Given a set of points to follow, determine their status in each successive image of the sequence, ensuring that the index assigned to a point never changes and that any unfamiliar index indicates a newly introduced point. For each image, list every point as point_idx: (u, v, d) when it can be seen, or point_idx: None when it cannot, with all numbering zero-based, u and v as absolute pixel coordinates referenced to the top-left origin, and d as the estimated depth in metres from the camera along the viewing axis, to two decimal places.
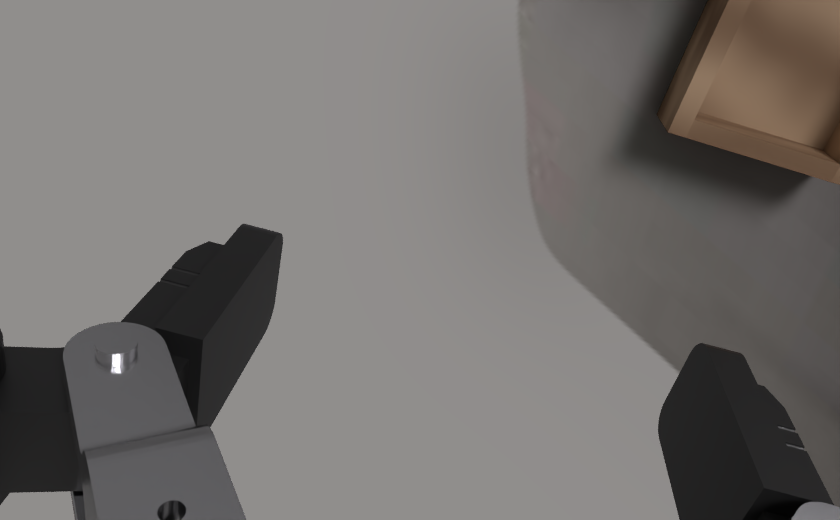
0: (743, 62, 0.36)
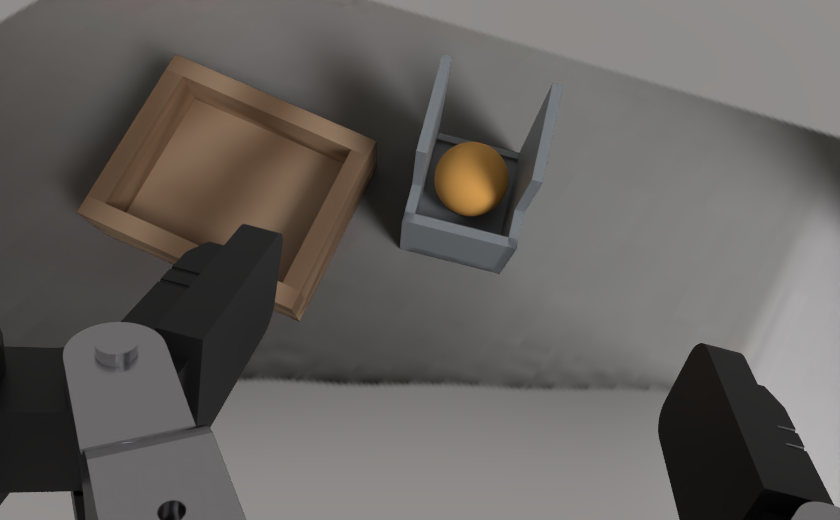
0: (227, 147, 0.38)
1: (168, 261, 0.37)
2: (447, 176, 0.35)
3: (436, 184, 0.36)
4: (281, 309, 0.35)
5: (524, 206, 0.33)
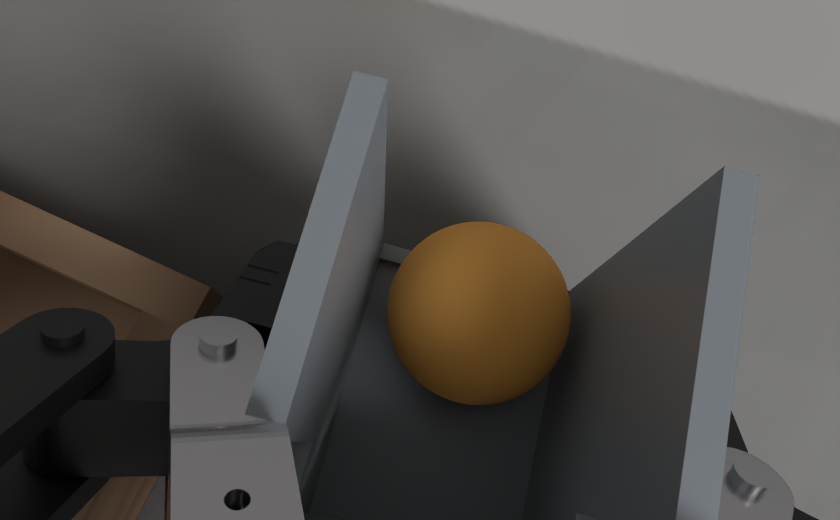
0: None
1: None
2: (435, 262, 0.14)
3: (400, 300, 0.14)
4: None
5: None
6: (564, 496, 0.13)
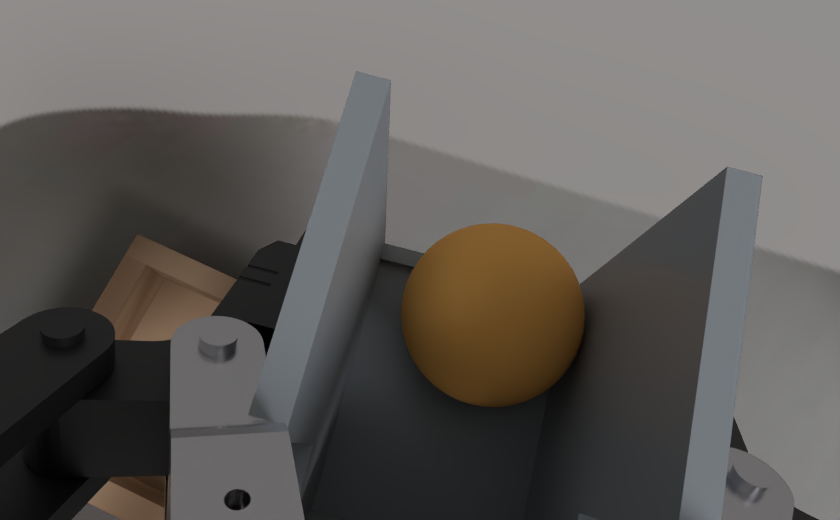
0: None
1: None
2: (463, 265, 0.13)
3: (422, 301, 0.14)
4: None
5: None
6: (566, 497, 0.13)
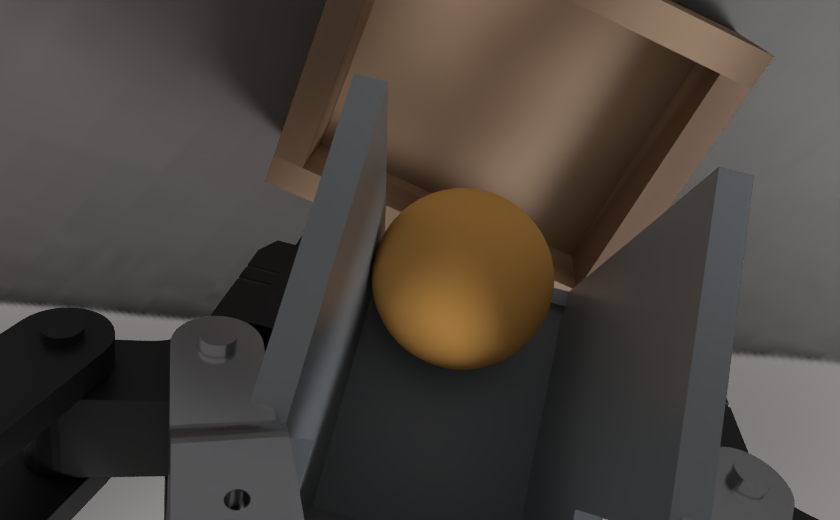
0: (474, 16, 0.22)
1: None
2: (404, 214, 0.14)
3: (376, 259, 0.14)
4: None
5: None
6: (563, 494, 0.13)
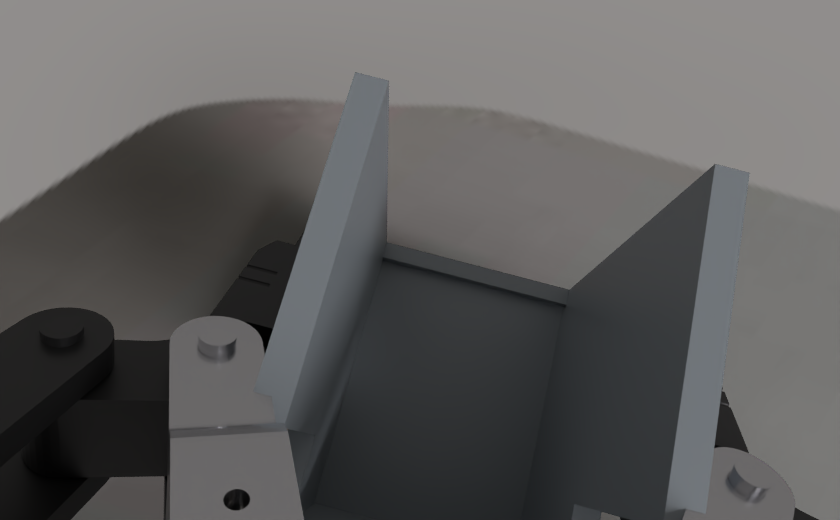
0: None
1: None
2: None
3: None
4: None
5: None
6: (562, 489, 0.13)
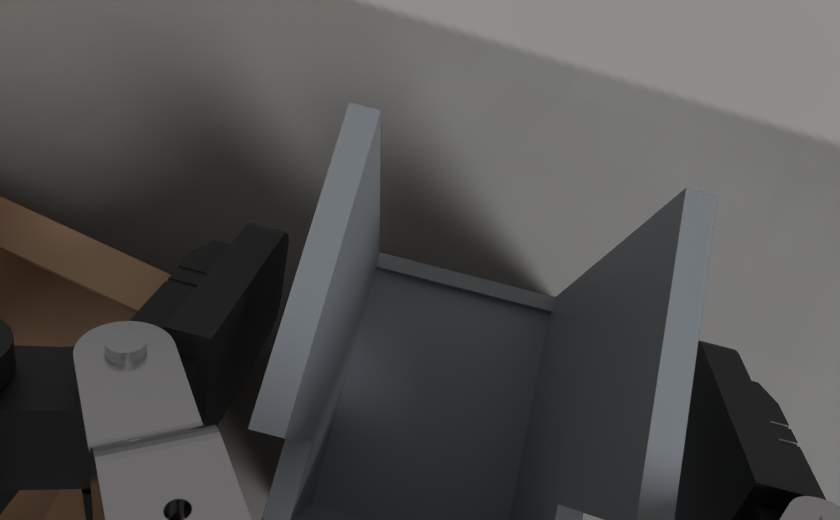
0: None
1: None
2: None
3: None
4: None
5: None
6: (547, 490, 0.14)
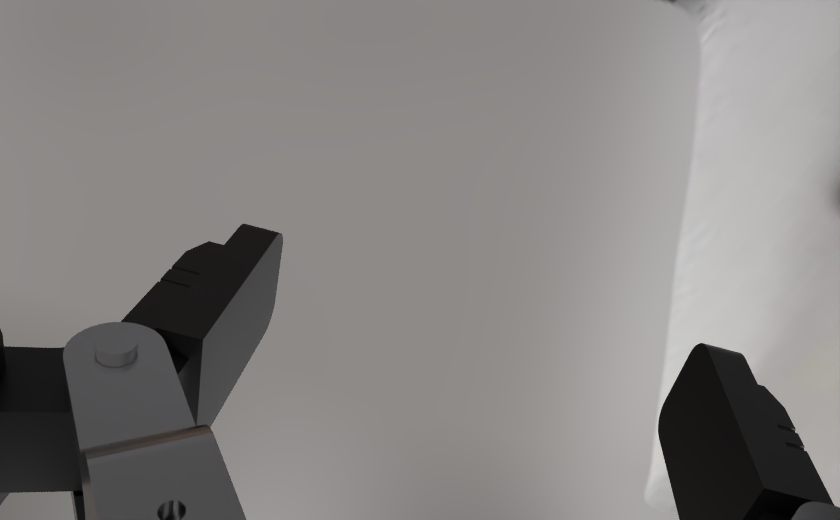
0: None
1: None
2: None
3: None
4: None
5: None
6: None
